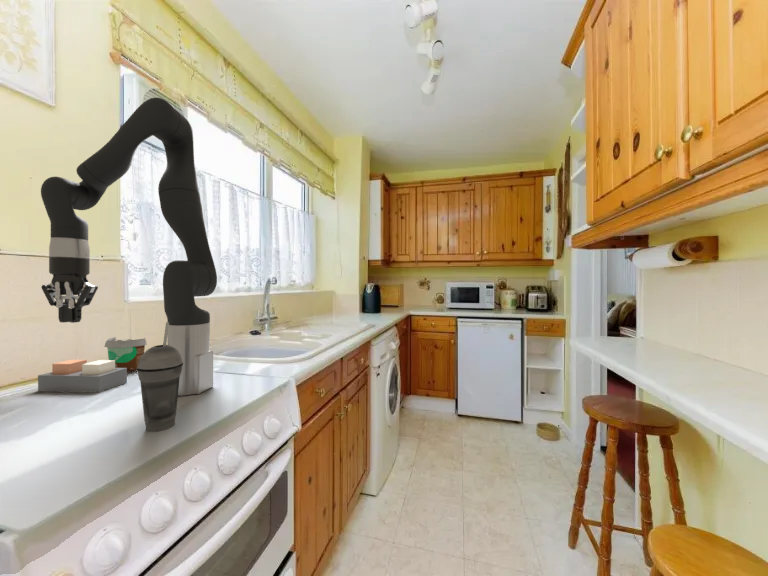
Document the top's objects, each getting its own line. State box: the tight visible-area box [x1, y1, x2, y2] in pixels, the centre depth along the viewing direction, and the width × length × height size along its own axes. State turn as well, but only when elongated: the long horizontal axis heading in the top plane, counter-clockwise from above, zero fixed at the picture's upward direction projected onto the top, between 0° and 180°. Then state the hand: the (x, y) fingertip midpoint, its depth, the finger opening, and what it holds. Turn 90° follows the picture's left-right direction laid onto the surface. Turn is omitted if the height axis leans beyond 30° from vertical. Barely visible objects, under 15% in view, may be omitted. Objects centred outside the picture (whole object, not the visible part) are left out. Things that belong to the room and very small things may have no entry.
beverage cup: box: [136, 321, 183, 432], centre depth 60 cm, size 7×7×20 cm
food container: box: [104, 336, 148, 373], centre depth 97 cm, size 12×6×10 cm, turn 81°
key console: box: [37, 368, 128, 393], centre depth 82 cm, size 16×8×4 cm, turn 88°
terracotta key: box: [51, 359, 88, 374], centre depth 82 cm, size 4×4×4 cm
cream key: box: [82, 359, 115, 375], centre depth 82 cm, size 4×4×4 cm
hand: (69, 321), depth 82 cm, fingers closed
